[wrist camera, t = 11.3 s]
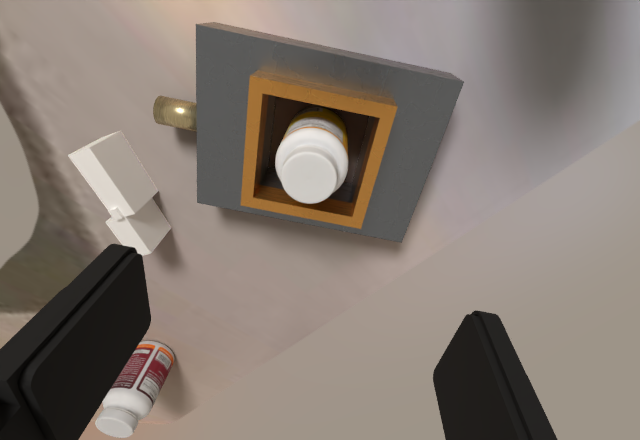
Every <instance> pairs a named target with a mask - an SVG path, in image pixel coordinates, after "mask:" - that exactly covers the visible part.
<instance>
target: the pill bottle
mask: <svg viewBox="0 0 640 440" xmlns="http://www.w3.org/2000/svg"><path fill="white" fill-rule="evenodd" d="M173 362H174V354H173V352H172V351H171V350H170V349H169V348H168V347H167V346H166V345H164V344H161V343H159V342H155V341H143V342H140V343H139V345H138V346H137V348H136V349H135V351H134V353H133V354H132V356H131V357H130V359H129V360H128V362H127V364H126V365H125V367H124V368H123V370H122V372H121V373H120V375H119V376H118V378H117V379H116V381H115V383H114V384H113V386H112V387H111V389H110V390H109V392H108V394H107V395H106V397H105V398H104V400H103V407H104V410H103V411H102V412H101V413H100V415H99V417H98V418H97V420H96V422H95V424H96V427H97V428H98V429H99V430H100V431H101V432H103V433H105V434H107V435H109V436H113V437H117V438H126V437H129V436H131V435H132V434H133V432H134V430H135V429H136V427H137V424H138V420H140V419H143V418H144V417H146V416H147V415H148V414H149V412H150V411H151V409H152V407H153V405H154V402H155V400H156V398H157V396H158V394H159V392H160V390H161V388H162V386H163V384H164V382H165V379H166V377H167V375H168V373H169V371H170V369H171V367H172V365H173Z"/></svg>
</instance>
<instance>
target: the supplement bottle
mask: <svg viewBox="0 0 640 440" xmlns="http://www.w3.org/2000/svg"><path fill="white" fill-rule="evenodd" d="M275 167H276V172H277V175H278V177H279V179H280V181H281V183H282V186H283V188H284V190H285V191H286V192H287V194H288V195H289V196H290V197H292V198H293V199H295V200H296V201H299V202H301V203H307V204H313V203H319V202H321V201H324V200H325V199H327V198H328V197H329V196H330V195H331V194H332V193H333V192H335V191H336V190H337V189H338V188H339V187H340V186H341V185H342V183H343V182H344V180H345V178H346V175H347V172H348V135H347V128H346V125H345V123H344V121H343V119H342V118H341V117H340V115H339V114H338V113H336V112H335V111H334V110H332V109H330V108H328V107H325V106H310V107H307V108H305V109H303V110H301V111H300V112H298V113H297V114H296V115H295V117H294V118H293V119H292V121H291V123H290V125H289V127H288V129H287V131H286V133H285V135H284V138H283V140H282V142H281V144H280V146H279V148H278V150H277V153H276V158H275Z"/></svg>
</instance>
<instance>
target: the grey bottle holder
mask: <svg viewBox="0 0 640 440" xmlns="http://www.w3.org/2000/svg"><path fill="white" fill-rule="evenodd" d="M463 83H464V82H463V81H462V80H460V79H459V78H457V77H456V76H454V75H452V74H451V73H447V72H442V71H438V70H433V69H428V68H424V67H419V66H415V65H410V64H405V63H401V62H396V61H391V60H387V59H382V58H377V57H373V56H368V55H364V54H359V53H354V52H350V51H345V50H340V49H336V48H331V47H326V46H322V45H317V44H313V43H308V42H303V41H299V40H294V39H289V38H285V37H280V36H275V35H271V34H266V33H261V32H257V31H252V30H248V29H243V28H238V27H234V26H229V25H224V24H220V23H215V22H213V23H203V24H196V101H197V103H193V102H188V101H184V100H179V99H174V98H169V97H164V96H158V97H157V99H156V100H155V103H154V108H153V114H154V119H155V121H156V123H158V124H162V125H167V126H172V127H176V128H181V129H186V130H191V131H196V132H197V203H201V204H206V205H211V206H217V207H222V208H227V209H232V210H237V211H242V212H247V213H252V214H258V215H263V216H268V217H273V218H278V219H283V220H288V221H294V222H299V223H304V224H309V225H314V226H319V227H324V228H329V229H335V230H340V231H345V232H350V233H355V234H360V235H365V236H371V237H376V238H381V239H386V240H391V241H396V242H401V243H402V240H403V238H404V235H405V233H406V230H407V227H408V225H409V222H410V220H411V217H412V215H413V212H414V209H415V207H416V204H417V202H418V199H419V196H420V194H421V191H422V189H423V186H424V184H425V181H426V178H427V176H428V173H429V171H430V168H431V166H432V163H433V160H434V158H435V155H436V153H437V150H438V148H439V145H440V142H441V140H442V137H443V135H444V132H445V130H446V127H447V124H448V122H449V119H450V117H451V114H452V111H453V109H454V106H455V104H456V101H457V99H458V96H459V93H460V91H461V88H462V86H463ZM276 96H277V97H282V98H287V99H292V100H297V101H301V102H306V103H311V104H316V105H321V106H325V107H330V108H335V109H340V110H345V111H349V112H354V113H359V114H364V115H368V116H369V120H368V123H367V127H366V131H365V135H364V139H363V143H362V146H361V150H360V154H359V158H358V162H357V165H356V169H355V173H354V177H353V181H352V184H349V183H344V182H343V183H342V185H341V186H340V187H339V188H338V189H337V190H336V191H335V192H333V193H332V194H331V195H330V196H329V197H328V198H327V199H325V200H324V201H321V202H319V203H313V204H307V203H301V202H299V201H296V200H295V199H293V198H292V197H290V196H289V195H288V194H287V192H286V191H285V190H284V188H283V186H282V183H281V181H280V179H279V177H278V175H277V172H276V169H274V168H269V167H268V164H269V156H270V147H271V138H272V129H273V120H274V111H275V103H276Z"/></svg>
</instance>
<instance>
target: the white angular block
mask: <svg viewBox="0 0 640 440" xmlns="http://www.w3.org/2000/svg"><path fill="white" fill-rule="evenodd" d="M68 156H69V158H70V159H71V160H72V162H73V163H74V164H75V166H76V167H77V169H78V170H79V171H80V173H81V174H82V175H83V177H84V178H85V179H86V181H87V182H88V184H89V185H90V186H91V188H92V189H93V190H94V192H95V193H96V194H97V196H98V197H99V199H100V200H101V201H102V203H103V204H104V205H105V207H106V208H107V210H108V212H109V213H110V215H111V216H112V217H111V218H110V219H108V220H107V221H106V222H105V223H106V224H107V225H108V227H109V228H110V229H111V231H112V232H113V233H114V235H115V236H116V237H117V239H118V240H119V241H120V243H121V244H122V245H123V246H129V247H134V248H135V249H136V250H137V253H138V254H141V255H142V256H143V255H147V254H151V253H152V252H153V250H154V249H155V248H156V247H157V245H158V244H159V243H160V242H161V240H162V239H163V238H164V237H165V235H166V234H167V233H168V232H169V230H170V229H171V226H170V224H169V223H168V221H167V220H166V218H165V217H164V215H163V214H162V212H161V210H160V209H159V207H158V206H157V204H156V203H155V201H154V200H153V198H152V197H153V196H154V195H155V194H156V193H157V192H158V189H157V188H156V186H155V184H154V183H153V181H152V180H151V178H150V176H149V175H148V173H147V172H146V170H145V168H144V167H143V165H142V164H141V162H140V160H139V159H138V157H137V156H136V154H135V152H134V151H133V149H132V148H131V146H130V144H129V143H128V141H127V140H126V138H125V136H124V135H123V133H122V132H121V131H118V132H116V133H113V134H110V135H107V136H104V137H101V138H100V139H98V140H96V141H94V142H92V143H90V144H88V145H86V146H84V147H82V148H81V149H79V150H77V151H75V152H73V153H71V154H69V155H68Z"/></svg>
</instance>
